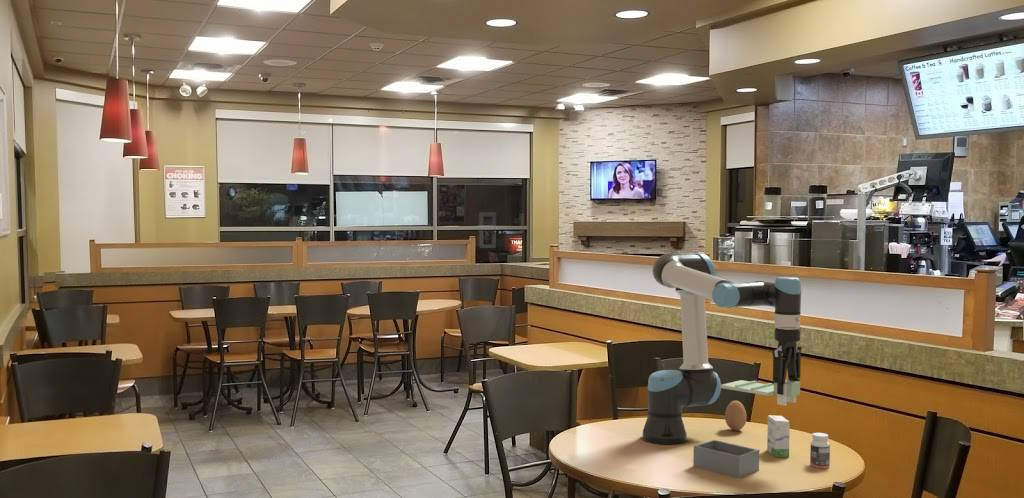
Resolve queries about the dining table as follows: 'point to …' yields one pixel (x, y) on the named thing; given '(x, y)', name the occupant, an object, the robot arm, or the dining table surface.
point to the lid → (763, 387)
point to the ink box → (778, 436)
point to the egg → (735, 415)
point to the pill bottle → (820, 451)
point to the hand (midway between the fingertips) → (786, 403)
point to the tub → (726, 458)
